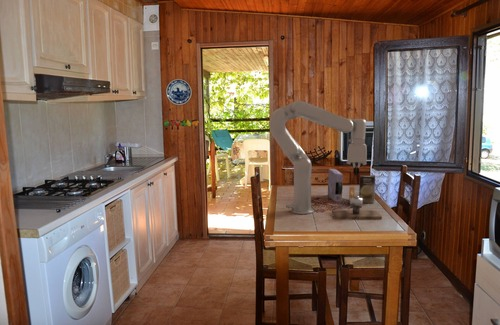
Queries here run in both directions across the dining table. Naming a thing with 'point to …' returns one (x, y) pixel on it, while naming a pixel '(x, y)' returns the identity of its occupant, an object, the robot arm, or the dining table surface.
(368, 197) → the coffee box
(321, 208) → the dining table surface
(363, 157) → the robot arm
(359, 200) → the twist collar
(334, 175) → the cake pan box
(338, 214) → the bayonet base
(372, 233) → the dining table surface
